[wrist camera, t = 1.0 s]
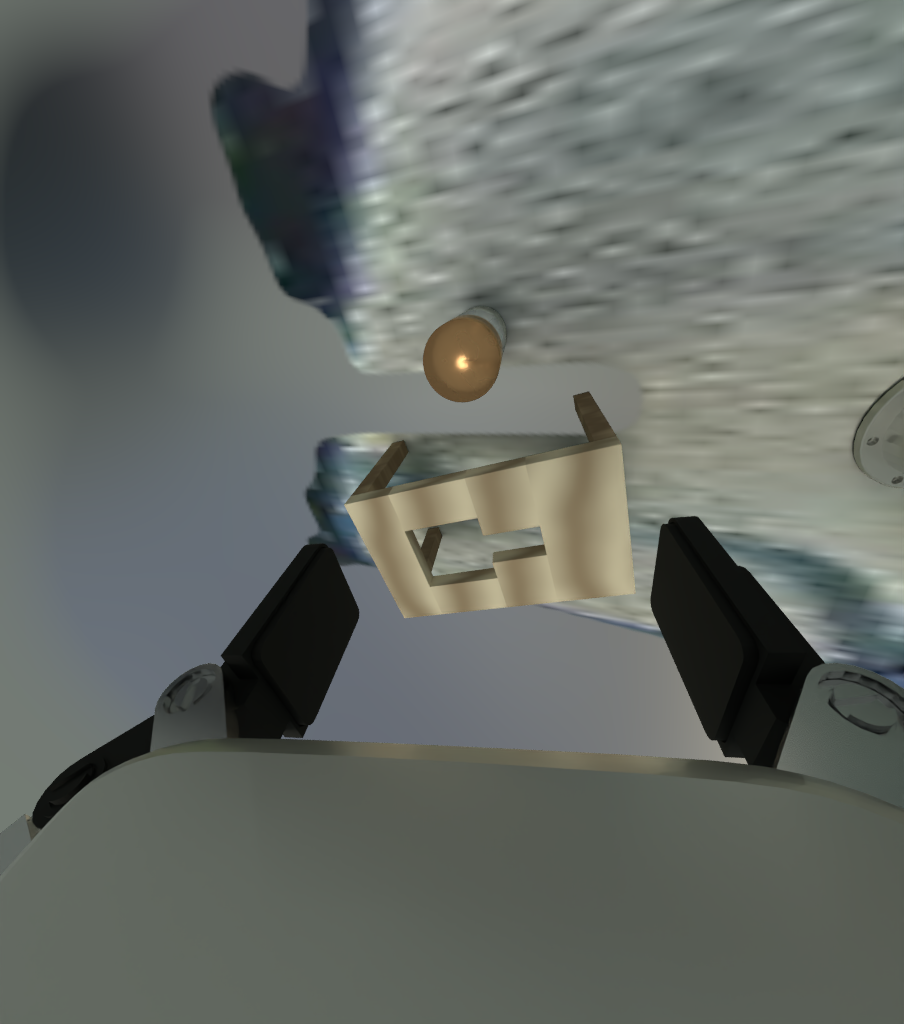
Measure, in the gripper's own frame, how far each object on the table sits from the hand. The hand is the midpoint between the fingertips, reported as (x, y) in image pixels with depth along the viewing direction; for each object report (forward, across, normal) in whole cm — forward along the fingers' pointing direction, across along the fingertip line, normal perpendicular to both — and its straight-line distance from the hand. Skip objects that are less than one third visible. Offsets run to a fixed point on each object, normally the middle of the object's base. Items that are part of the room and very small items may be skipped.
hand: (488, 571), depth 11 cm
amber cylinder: (+31, +2, -3) cm, 31 cm away
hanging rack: (+31, +2, +12) cm, 33 cm away
